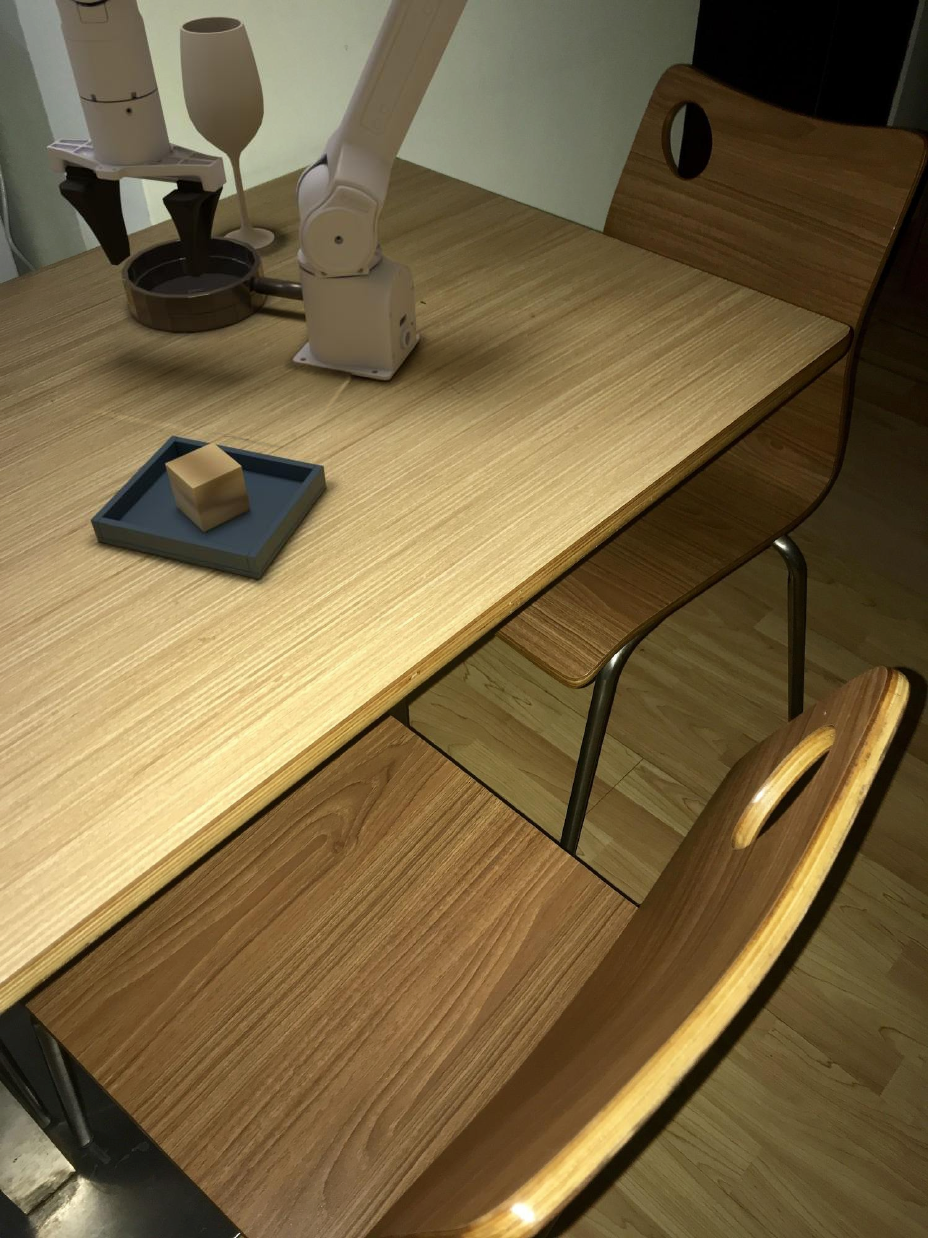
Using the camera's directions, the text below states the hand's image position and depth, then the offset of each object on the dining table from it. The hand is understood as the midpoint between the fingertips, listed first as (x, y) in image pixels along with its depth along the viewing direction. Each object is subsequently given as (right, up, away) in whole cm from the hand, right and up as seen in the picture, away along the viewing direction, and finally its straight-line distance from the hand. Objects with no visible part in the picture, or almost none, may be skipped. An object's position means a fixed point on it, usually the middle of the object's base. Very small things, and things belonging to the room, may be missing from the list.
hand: (160, 265), depth 83 cm
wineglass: (+2, +11, +25) cm, 28 cm away
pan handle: (+9, +1, +11) cm, 14 cm away
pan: (-1, +2, +15) cm, 15 cm away
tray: (+7, -22, -9) cm, 24 cm away
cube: (+7, -21, -9) cm, 24 cm away
